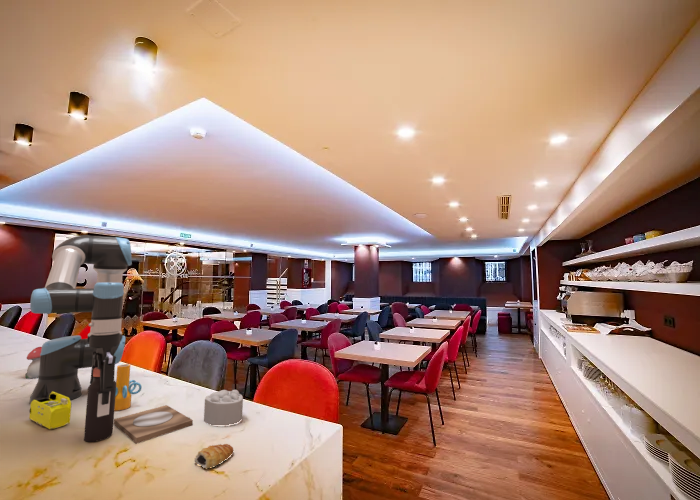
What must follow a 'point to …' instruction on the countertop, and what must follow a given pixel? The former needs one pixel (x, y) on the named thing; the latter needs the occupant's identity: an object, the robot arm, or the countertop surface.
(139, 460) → the countertop surface
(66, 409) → the yellow toy chassis
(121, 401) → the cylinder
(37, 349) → the decorative ornament
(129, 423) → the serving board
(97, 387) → the vinegar
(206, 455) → the pastry
